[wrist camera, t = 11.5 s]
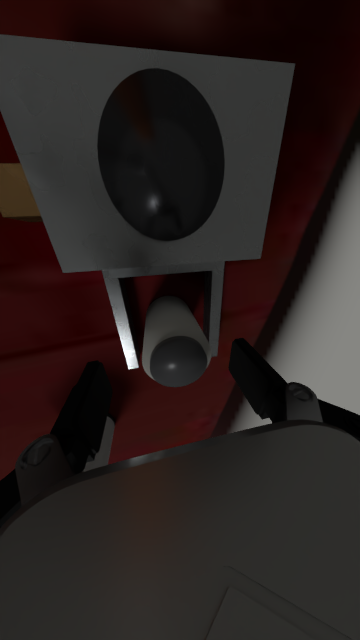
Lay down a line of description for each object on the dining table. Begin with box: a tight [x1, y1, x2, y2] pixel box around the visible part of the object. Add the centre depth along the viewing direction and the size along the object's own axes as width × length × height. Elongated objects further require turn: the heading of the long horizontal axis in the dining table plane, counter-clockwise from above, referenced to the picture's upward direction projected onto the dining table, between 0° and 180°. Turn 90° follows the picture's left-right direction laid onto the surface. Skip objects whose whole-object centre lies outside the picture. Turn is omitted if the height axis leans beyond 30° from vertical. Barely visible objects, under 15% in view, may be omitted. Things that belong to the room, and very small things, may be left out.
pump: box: [142, 296, 211, 387], centre depth 16 cm, size 7×6×9 cm
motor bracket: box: [0, 35, 295, 369], centre depth 13 cm, size 21×17×8 cm
